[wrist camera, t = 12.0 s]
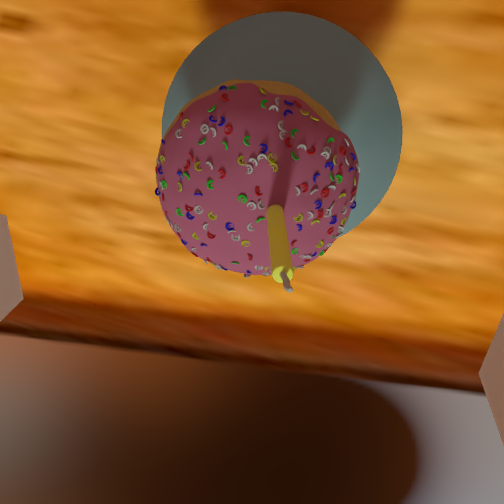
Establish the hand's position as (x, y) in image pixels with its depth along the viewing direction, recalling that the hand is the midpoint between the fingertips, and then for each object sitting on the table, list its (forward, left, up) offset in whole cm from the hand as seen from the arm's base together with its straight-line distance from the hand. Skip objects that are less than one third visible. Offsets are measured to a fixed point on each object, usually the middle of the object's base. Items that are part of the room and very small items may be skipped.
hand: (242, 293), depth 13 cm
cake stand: (0, 0, -22) cm, 22 cm away
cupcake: (+1, 0, -13) cm, 13 cm away
